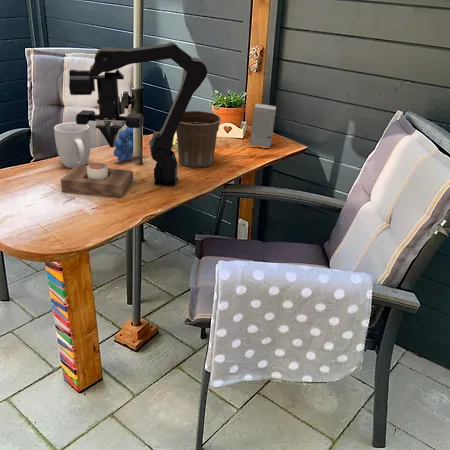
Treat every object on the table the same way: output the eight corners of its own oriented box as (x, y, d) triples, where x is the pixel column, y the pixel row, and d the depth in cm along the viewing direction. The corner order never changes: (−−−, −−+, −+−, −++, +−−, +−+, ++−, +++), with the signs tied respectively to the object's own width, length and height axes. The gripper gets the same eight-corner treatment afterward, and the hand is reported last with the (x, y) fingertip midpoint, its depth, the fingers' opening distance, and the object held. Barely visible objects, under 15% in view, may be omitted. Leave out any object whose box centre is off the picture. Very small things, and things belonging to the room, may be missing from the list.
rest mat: (138, 177, 157) (138, 176, 157) (132, 185, 151) (132, 184, 151) (117, 175, 158) (117, 174, 158) (110, 183, 152) (110, 182, 152)
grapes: (132, 153, 177) (131, 120, 171) (145, 158, 173) (144, 125, 167) (106, 161, 169) (104, 127, 163) (119, 166, 165) (117, 131, 159)
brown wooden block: (133, 182, 153) (132, 170, 152) (121, 198, 143) (120, 185, 141) (77, 177, 155) (76, 165, 153) (61, 192, 144) (60, 179, 142)
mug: (101, 171, 160) (98, 132, 154) (67, 177, 154) (63, 137, 148) (85, 157, 171) (82, 120, 165) (53, 162, 165) (49, 124, 159)
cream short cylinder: (111, 182, 151) (110, 162, 148) (104, 189, 146) (103, 170, 143) (92, 180, 151) (90, 161, 148) (85, 187, 146) (83, 168, 143)
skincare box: (249, 147, 190) (252, 107, 182) (251, 142, 196) (254, 102, 188) (271, 150, 189) (275, 109, 181) (272, 144, 195) (276, 104, 187)
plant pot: (209, 173, 163) (211, 126, 156) (165, 166, 168) (165, 119, 160) (224, 158, 177) (227, 114, 170) (183, 151, 181) (184, 108, 174)
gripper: (147, 90, 146) (149, 140, 153) (86, 86, 147) (91, 136, 154) (137, 99, 136) (140, 152, 143) (72, 95, 137) (78, 148, 145)
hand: (112, 147), depth 147 cm, fingers closed
